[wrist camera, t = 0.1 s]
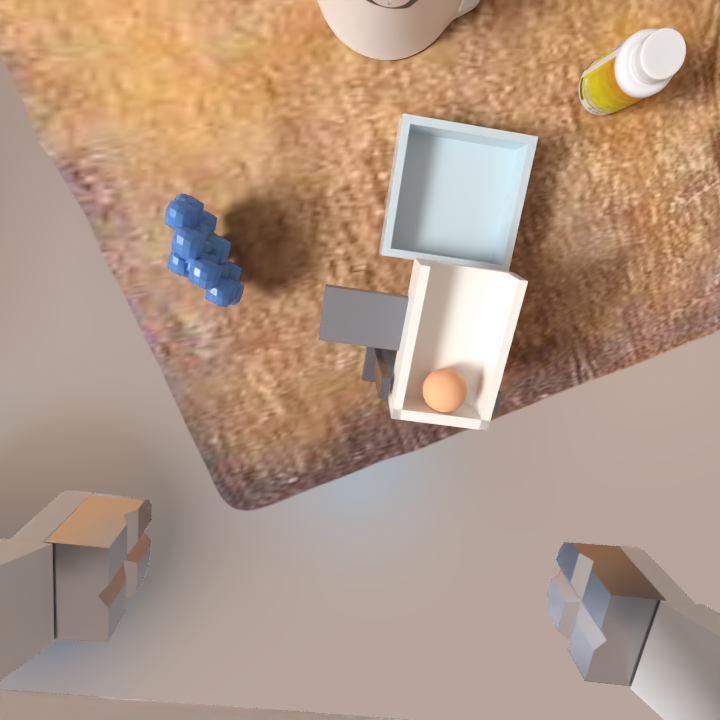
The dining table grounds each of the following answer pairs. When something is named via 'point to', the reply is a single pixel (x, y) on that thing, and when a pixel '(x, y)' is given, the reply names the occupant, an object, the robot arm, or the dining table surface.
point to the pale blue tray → (456, 192)
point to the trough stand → (388, 371)
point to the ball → (444, 390)
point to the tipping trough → (434, 334)
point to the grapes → (202, 251)
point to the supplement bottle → (632, 70)
